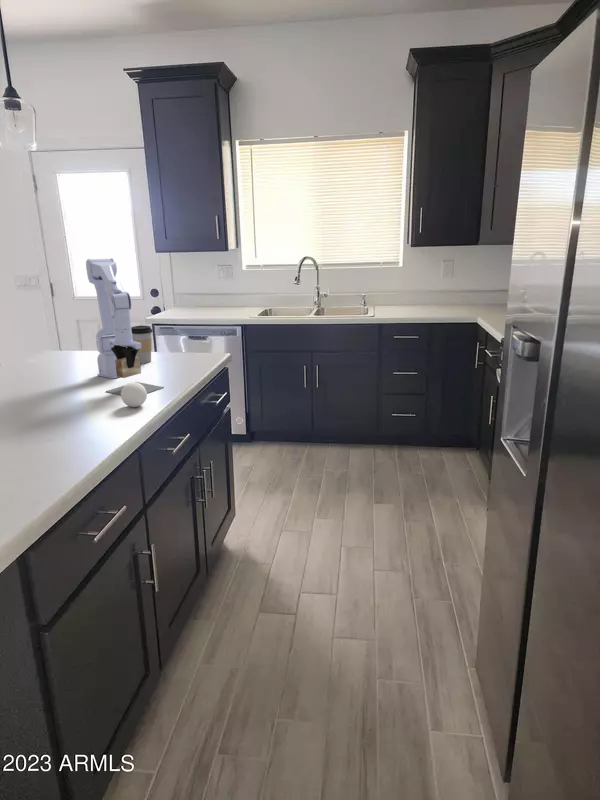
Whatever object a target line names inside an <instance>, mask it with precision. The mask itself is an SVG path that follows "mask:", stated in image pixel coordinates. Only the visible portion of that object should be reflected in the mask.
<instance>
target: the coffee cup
mask: <svg viewBox="0 0 600 800" xmlns="http://www.w3.org/2000/svg"><path fill="white" fill-rule="evenodd" d="M131 329H132V339H133V341H136V342H139V343H141V347H142V348H141V349H139V350H138V352H137V354H136V356H137V357H140V364H148V363H150V362H151V363H152V349H153V348H152V347H153V344H152V343H153V342H152V339H153V338H152V332H153V329H152V328H151V326H150V325H134V326H131Z"/></svg>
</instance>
